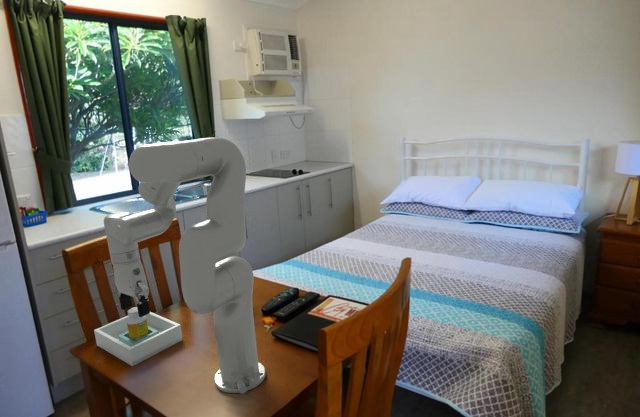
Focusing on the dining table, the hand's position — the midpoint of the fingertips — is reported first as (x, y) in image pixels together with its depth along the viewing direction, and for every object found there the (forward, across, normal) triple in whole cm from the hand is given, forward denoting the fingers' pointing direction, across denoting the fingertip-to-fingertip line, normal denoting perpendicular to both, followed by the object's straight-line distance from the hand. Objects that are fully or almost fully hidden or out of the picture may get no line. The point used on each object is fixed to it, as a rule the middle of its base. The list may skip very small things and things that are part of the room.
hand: (135, 311), depth 128 cm
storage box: (+10, +1, 0) cm, 10 cm away
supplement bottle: (+9, 0, 0) cm, 9 cm away
